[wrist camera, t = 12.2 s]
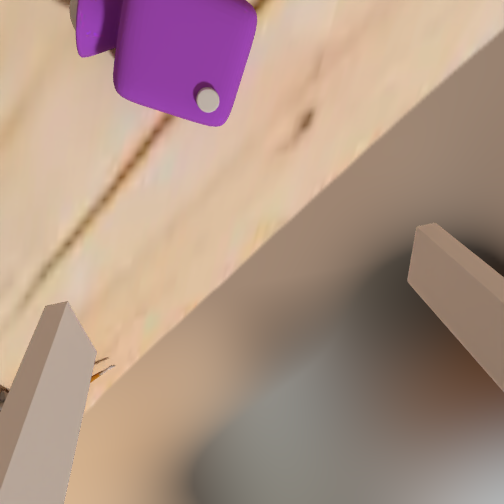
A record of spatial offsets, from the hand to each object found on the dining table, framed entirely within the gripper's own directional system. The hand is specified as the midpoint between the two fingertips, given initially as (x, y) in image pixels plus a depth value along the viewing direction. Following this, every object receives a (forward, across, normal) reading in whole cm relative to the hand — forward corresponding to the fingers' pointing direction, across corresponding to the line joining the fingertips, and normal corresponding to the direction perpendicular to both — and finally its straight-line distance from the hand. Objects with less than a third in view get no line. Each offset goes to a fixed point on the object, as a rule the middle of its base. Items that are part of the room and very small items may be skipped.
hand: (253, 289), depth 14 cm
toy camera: (+29, -2, +7) cm, 30 cm away
